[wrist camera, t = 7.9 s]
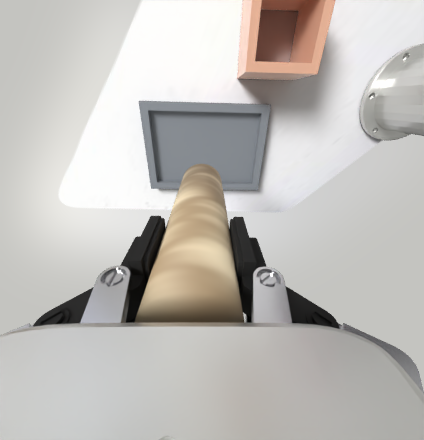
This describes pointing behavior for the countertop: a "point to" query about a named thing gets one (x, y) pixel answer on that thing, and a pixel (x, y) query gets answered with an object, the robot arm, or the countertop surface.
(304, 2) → the deep cup
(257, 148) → the tray
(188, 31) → the countertop surface
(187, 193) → the dowel
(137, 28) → the countertop surface
